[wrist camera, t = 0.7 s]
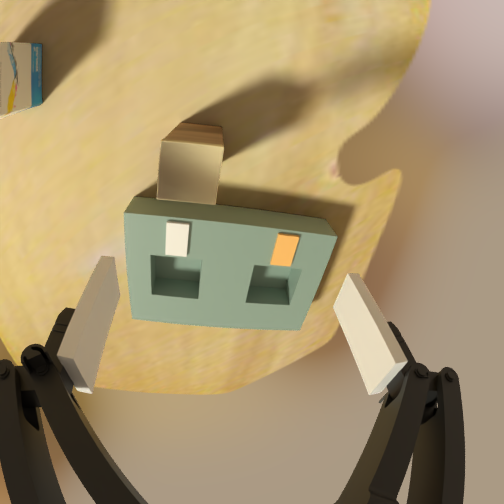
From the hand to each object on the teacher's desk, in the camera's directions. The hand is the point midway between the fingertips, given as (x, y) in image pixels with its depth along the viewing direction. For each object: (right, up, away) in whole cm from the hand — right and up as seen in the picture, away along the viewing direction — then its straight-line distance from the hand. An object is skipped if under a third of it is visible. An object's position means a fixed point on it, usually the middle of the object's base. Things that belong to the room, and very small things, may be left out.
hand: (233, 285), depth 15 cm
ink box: (-28, +23, +5) cm, 36 cm away
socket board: (-3, +1, +23) cm, 23 cm away
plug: (-5, +14, +14) cm, 20 cm away
